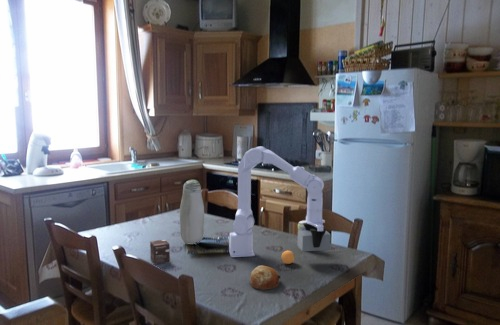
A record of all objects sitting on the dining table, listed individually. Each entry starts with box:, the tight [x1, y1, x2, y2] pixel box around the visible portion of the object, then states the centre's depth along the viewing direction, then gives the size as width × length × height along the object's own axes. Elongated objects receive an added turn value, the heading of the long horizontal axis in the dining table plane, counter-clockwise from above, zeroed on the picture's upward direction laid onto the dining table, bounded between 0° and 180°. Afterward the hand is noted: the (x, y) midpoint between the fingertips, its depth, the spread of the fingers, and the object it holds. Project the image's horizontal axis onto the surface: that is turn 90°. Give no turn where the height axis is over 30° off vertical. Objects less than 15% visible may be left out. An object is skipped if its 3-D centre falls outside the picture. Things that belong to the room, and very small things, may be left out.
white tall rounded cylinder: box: [179, 179, 205, 245], centre depth 174 cm, size 10×10×28 cm
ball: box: [280, 250, 295, 265], centre depth 155 cm, size 5×5×5 cm
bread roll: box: [248, 264, 281, 291], centre depth 137 cm, size 10×10×8 cm
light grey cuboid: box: [297, 230, 332, 252], centre depth 156 cm, size 11×6×6 cm, turn 100°
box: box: [149, 239, 171, 265], centre depth 156 cm, size 6×6×7 cm
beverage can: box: [297, 219, 306, 232], centre depth 171 cm, size 6×7×12 cm
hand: (313, 244), depth 156 cm, fingers closed on light grey cuboid, 6 cm apart
